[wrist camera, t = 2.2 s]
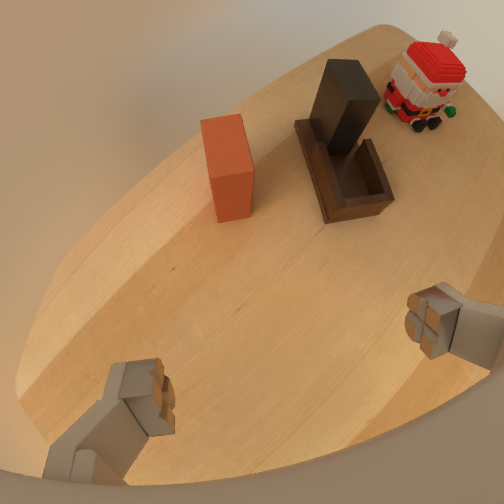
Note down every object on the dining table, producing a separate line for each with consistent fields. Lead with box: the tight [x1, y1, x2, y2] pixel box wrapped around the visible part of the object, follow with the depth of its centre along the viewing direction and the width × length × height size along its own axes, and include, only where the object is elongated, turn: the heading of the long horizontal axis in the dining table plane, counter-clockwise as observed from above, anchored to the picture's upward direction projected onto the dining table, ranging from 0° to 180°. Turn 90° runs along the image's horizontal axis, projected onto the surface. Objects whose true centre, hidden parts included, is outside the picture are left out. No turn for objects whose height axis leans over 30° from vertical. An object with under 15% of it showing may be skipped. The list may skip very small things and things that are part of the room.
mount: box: [294, 59, 395, 224], centre depth 25 cm, size 6×12×10 cm, turn 12°
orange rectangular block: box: [200, 114, 255, 223], centre depth 25 cm, size 3×5×9 cm, turn 12°
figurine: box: [385, 31, 466, 133], centre depth 27 cm, size 8×7×12 cm
